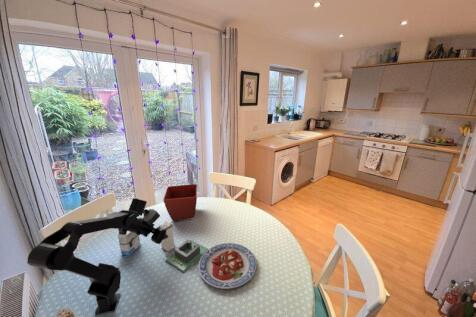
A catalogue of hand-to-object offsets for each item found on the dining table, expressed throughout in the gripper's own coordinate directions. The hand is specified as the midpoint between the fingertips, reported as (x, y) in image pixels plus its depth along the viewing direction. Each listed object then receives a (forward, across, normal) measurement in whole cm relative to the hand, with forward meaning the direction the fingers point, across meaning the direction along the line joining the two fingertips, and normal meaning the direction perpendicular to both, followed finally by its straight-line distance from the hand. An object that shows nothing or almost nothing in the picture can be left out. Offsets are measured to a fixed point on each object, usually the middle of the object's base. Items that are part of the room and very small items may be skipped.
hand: (161, 233), depth 100 cm
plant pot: (+27, +16, -12) cm, 33 cm away
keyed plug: (+9, 0, +5) cm, 10 cm away
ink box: (+1, +14, +13) cm, 19 cm away
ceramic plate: (+14, -33, 0) cm, 36 cm away
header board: (+10, -13, +4) cm, 17 cm away
